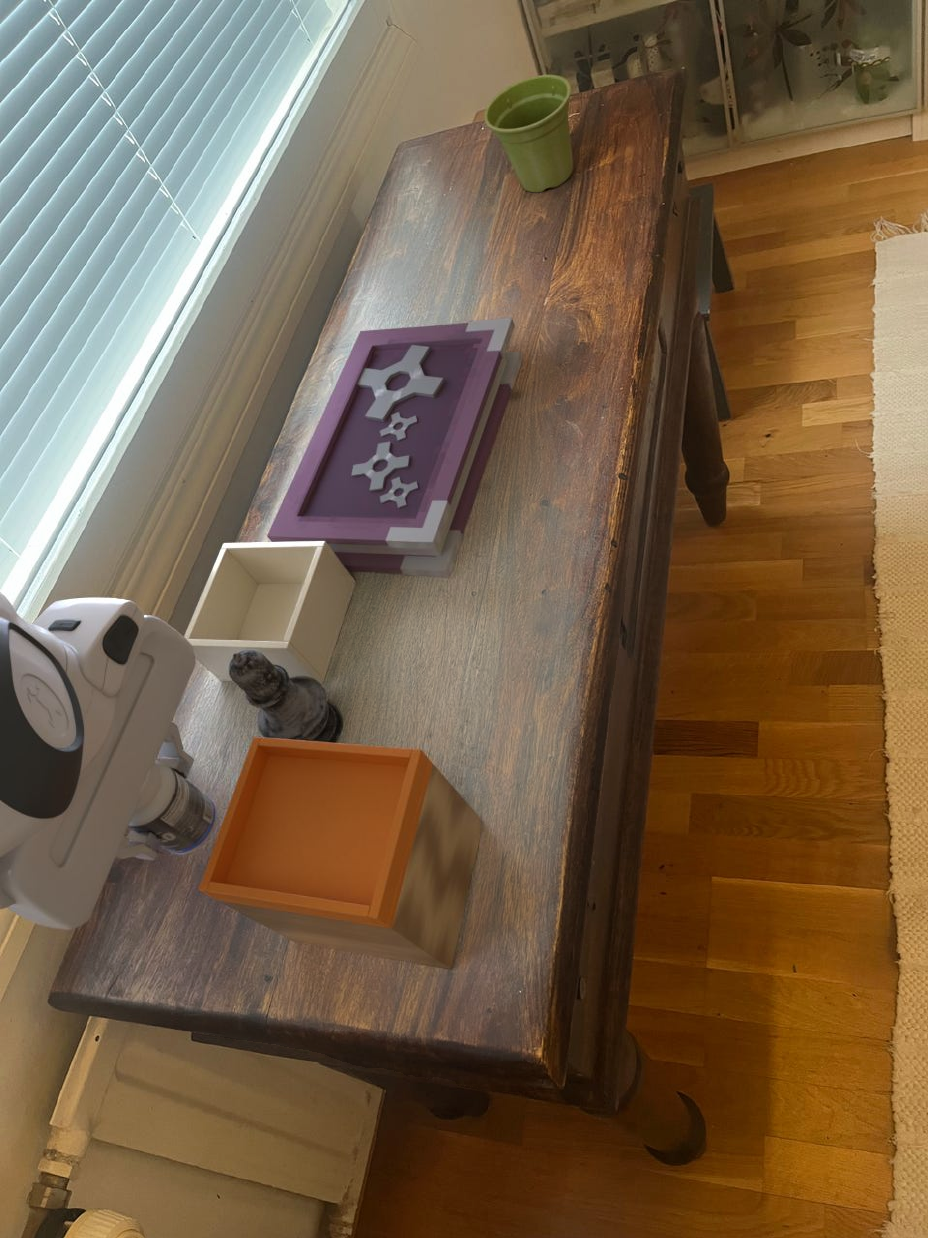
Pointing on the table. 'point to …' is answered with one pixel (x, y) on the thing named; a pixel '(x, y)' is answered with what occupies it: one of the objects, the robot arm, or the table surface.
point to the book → (403, 447)
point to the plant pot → (535, 130)
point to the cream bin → (272, 607)
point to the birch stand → (406, 892)
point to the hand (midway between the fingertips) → (167, 808)
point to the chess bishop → (285, 700)
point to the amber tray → (320, 829)
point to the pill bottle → (174, 811)
